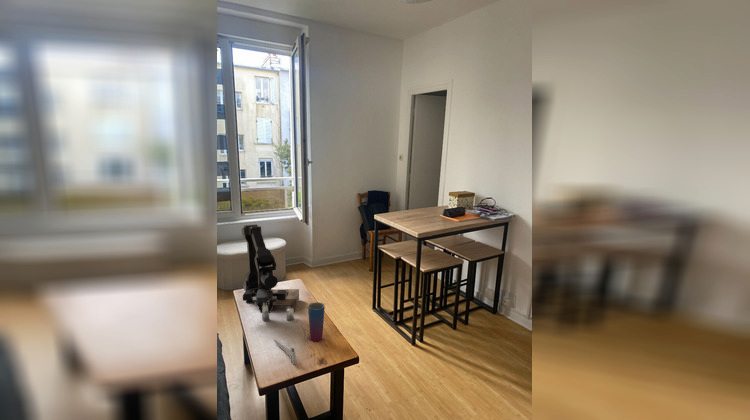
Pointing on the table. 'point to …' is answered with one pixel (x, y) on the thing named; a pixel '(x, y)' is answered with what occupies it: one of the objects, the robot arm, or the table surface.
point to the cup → (316, 321)
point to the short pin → (290, 314)
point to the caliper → (287, 350)
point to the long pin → (265, 311)
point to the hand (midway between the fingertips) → (265, 312)
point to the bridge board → (288, 298)
